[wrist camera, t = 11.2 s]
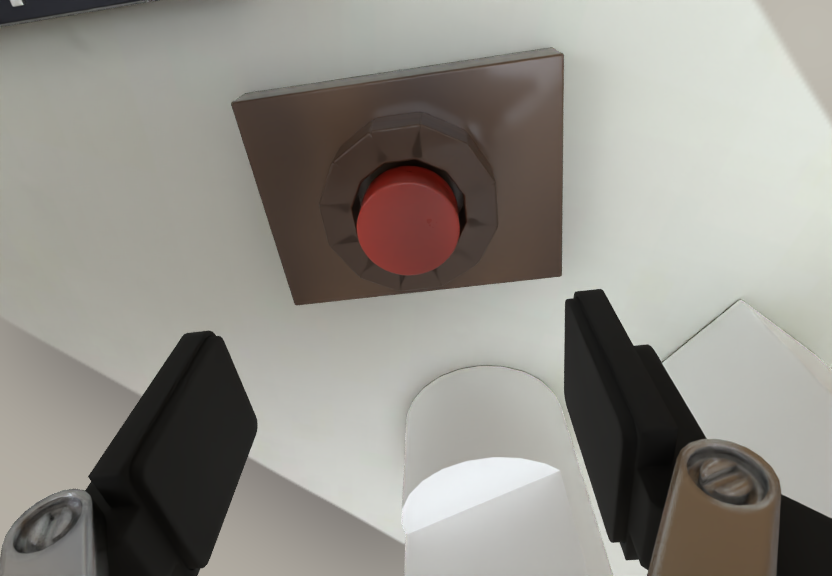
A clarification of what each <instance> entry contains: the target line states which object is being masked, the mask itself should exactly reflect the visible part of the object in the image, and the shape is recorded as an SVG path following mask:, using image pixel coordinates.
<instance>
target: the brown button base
mask: <svg viewBox="0 0 832 576" xmlns="http://www.w3.org/2000/svg"><path fill="white" fill-rule="evenodd" d="M563 89H564V55H563V53H561V52H559V51H558V50H556V49H555V48H546V49H539V50H532V51H526V52H519V53H512V54H505V55H499V56H492V57H485V58H479V59H472V60H465V61H459V62H452V63H445V64H438V65H432V66H425V67H418V68H412V69H405V70H398V71H392V72H385V73H378V74H372V75H365V76H358V77H351V78H345V79H338V80H331V81H325V82H318V83H311V84H305V85H298V86H291V87H284V88H278V89H271V90H264V91H258V92H251V93H245V94H244V95H242V96H241V97H239V98H238V99H236V100H235V101H233V102H232V103H231V105H232V108H233V111H234V115H235V118H236V121H237V124H238V127H239V130H240V133H241V137H242V140H243V143H244V146H245V149H246V152H247V155H248V159H249V162H250V165H251V168H252V171H253V174H254V177H255V181H256V184H257V187H258V190H259V193H260V196H261V199H262V203H263V206H264V209H265V212H266V215H267V218H268V221H269V225H270V228H271V231H272V234H273V237H274V240H275V243H276V247H277V250H278V253H279V256H280V259H281V262H282V265H283V269H284V272H285V275H286V278H287V281H288V284H289V288H290V291H291V294H292V297H293V300H294V303H295V305H305V304H314V303H323V302H332V301H341V300H350V299H359V298H368V297H378V296H387V295H396V294H405V293H414V292H423V291H432V290H441V289H451V288H460V287H469V286H478V285H487V284H496V283H505V282H514V281H524V280H533V279H542V278H551V277H560V276H561V275H562V203H563ZM400 166H418V167H423V168H426V169H429V170H431V171H433V172H435V173H436V174H438V175H439V176H440V177H442V178H443V179H444V180H445V181H446V182H447V183H448V185H449V186H450V188H451V189H452V191H453V193H454V195H455V198H456V201H457V207H458V215H459V223H460V234H459V239H458V243H457V245H456V248H455V250H454V251H453V253H452V254H451V256H450V257H449V258H448V259H447V260H446V261H445V262H444V263H443V264H442V265H440V266H439V267H437V268H435V269H434V270H432V271H429V272H427V273H423V274H418V275H400V274H395V273H391V272H389V271H386V270H384V269H382V268H381V267H379V266H378V265H376V264H375V263H374V262H373V261H371V260H370V259H369V257H368V256H367V255H366V254H365V252H364V251H363V249H362V247H361V245H360V243H359V240H358V236H357V218H358V215H359V211H360V208H361V204H362V201H363V197H364V194H365V192H366V190H367V188H368V187H369V185H370V184H371V183H372V181H373V180H374V179H375V178H376V177H378V176H379V175H380V174H382V173H383V172H385V171H387V170H389V169H392V168H395V167H400Z"/></svg>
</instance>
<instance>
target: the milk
mask: <svg viewBox="0 0 832 576" xmlns="http://www.w3.org/2000/svg"><path fill="white" fill-rule="evenodd" d="M662 364H663V366H664V367H665V369H666V371H667V373H668V374H669V376H670V378H671V379H672V381H673V383H674V384H675V386H676V388H677V389H678V391H679V393H680V394H681V396H682V398H683V399H684V401H685V403H686V404H687V406H688V408H689V409H690V411H691V413H692V415H693V416H694V418H695V420H696V421H697V423H698V425H699V426H700V428H701V430H702V431H703V433H704V435H705V436H706V438H707V439H720V440H726V441H731V442H734V443H736V444H739V445H741V446H744V447H747V448H748V449H750V450H751V451H753V452H755V453H756V454H758V455H759V456H761V457H762V458H763V459H764V460H765V461H766V462H767V463H768V464H769V465H770V466H771V467H772V468H773V470H774V471H775V473H776V475H777V476H778V478H779V481H780V487H781V494H782V495H784V496H787V497H789V498H791V499H793V500H795V501H797V502H799V503H801V504H803V505H805V506H807V507H809V508H811V509H813V510H815V511H817V512H820V513H822V514H824V515H826V516H828V517H830V518H832V370H831V369H830V368H829V367H828V366H827V365H826V364H825V363H824V362H823V361H822V360H821V359H820V358H819V357H818V356H816V355H815V354H814V353H813V352H811V351H810V350H809V349H807V348H806V347H805V346H803V345H802V344H801V343H799V342H798V341H797V340H795V339H794V338H793V337H791V336H790V335H789V334H787V333H786V332H785V331H783V330H782V329H781V328H779V327H778V326H777V325H775V324H774V323H773V322H771V321H770V320H769V319H767V318H766V317H765V316H763V315H762V314H760V313H759V312H758V311H756V310H755V309H754V308H752V307H751V306H750V305H748V304H747V303H746V302H744V301H743V300H739V301H738V302H736V303H735V304H734V305H733V306H731V307H730V308H729V309H728V310H727V311H725V312H724V313H723V314H722V315H720V316H719V317H718V318H717V319H715V320H714V321H713V322H712V323H711V324H709V325H708V326H707V327H706V328H704V329H703V330H702V331H701V332H699V333H698V334H697V335H696V336H695V337H693V338H692V339H691V340H690V341H688V342H687V343H686V344H685V345H684V346H682V347H681V348H680V349H679V350H677V351H676V352H675V353H674V354H672V355H671V356H670V357H669V358H668V359H666V360H665V361H664V362H663V363H662Z"/></svg>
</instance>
